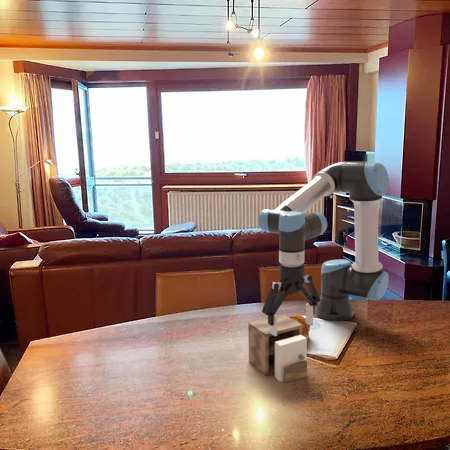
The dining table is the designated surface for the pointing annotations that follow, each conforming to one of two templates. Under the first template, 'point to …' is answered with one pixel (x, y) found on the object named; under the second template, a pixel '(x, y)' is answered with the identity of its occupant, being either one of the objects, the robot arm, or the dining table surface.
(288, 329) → the cabinet
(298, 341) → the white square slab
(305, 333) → the cheeseburger
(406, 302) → the dining table surface
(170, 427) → the dining table surface
